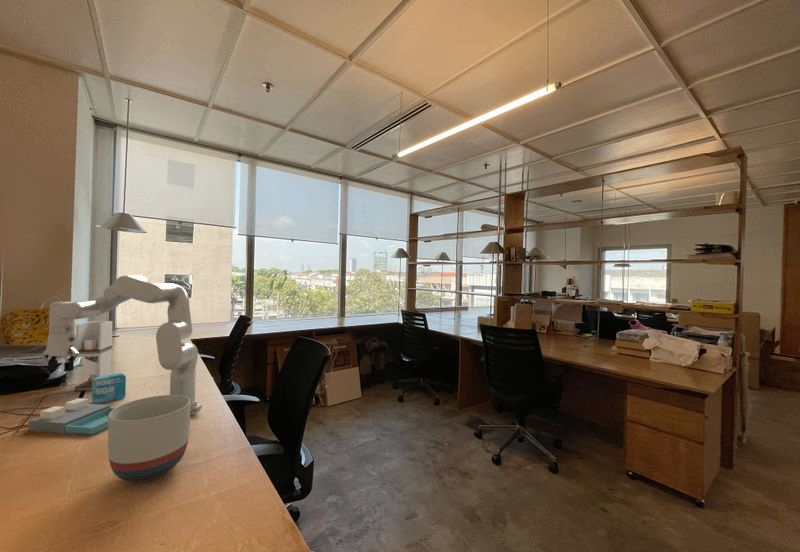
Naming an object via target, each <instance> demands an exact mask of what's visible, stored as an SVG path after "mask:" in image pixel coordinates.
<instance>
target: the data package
mask: <svg viewBox="0 0 800 552" xmlns="http://www.w3.org/2000/svg"><path fill="white" fill-rule="evenodd" d="M126 380H127V377H126V375H125V374H124V373H121V372H120V373H119V372H118V373H113V374H111V375H106V376H100V377H95V378H94V379H93V380H92V390H91V401H92V404H99V403H100V404H103V403H109V402H114V401H118V400H122V399H124V398H125V397H126V394H127V393H126V387H127V386H126V385H127V383H126V382H127V381H126Z"/></svg>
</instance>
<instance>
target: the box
mask: <svg viewBox="0 0 800 552" xmlns="http://www.w3.org/2000/svg"><path fill="white" fill-rule="evenodd" d="M115 408H116V407H110V408H108V409H106V410H103V411H101V412H98V413H96V414H93V415H91V416H88V417H86V418H83V419H81V420H78V421H76V422H73V423H71V424H68V425H66V426H65V433H64V434H67V435H78V436H79V435H81V436H82V435H83V436H89V437H91V436H94V435H97V434H99V433H101V432H103V431H106V430H108V415H109V413H110V412H111V411H112V410H113V409H115Z"/></svg>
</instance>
